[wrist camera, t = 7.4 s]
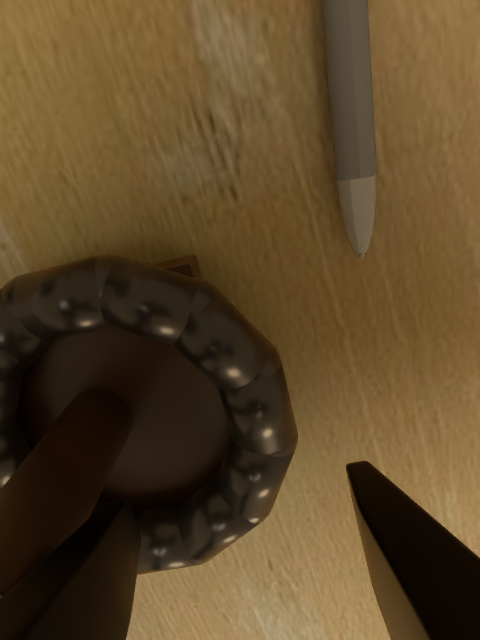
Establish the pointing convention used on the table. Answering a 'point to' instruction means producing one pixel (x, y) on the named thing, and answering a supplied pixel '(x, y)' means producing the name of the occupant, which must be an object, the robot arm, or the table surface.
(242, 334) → the studded brown bangle
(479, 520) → the table surface
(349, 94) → the pen
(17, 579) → the rack
